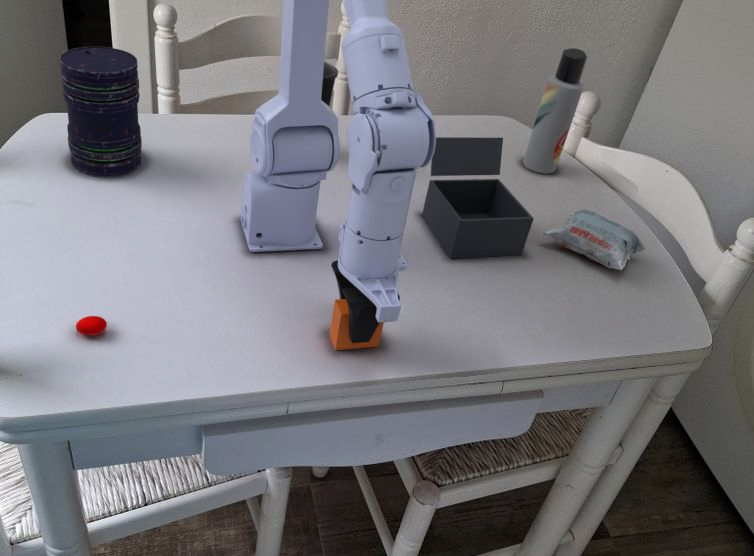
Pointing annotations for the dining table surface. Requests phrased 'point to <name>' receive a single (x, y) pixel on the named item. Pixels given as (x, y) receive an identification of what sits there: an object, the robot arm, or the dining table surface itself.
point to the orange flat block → (341, 329)
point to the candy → (91, 325)
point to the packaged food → (597, 239)
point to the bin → (476, 218)
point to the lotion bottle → (556, 113)
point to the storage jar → (102, 110)
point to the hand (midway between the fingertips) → (355, 331)
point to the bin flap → (466, 156)
